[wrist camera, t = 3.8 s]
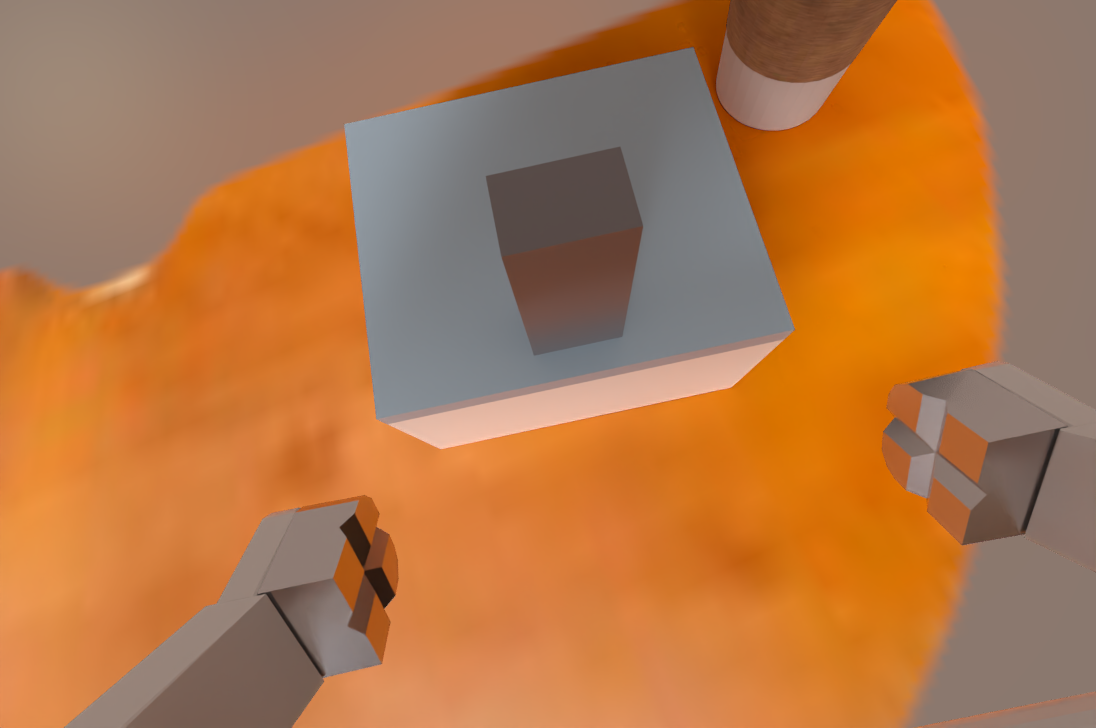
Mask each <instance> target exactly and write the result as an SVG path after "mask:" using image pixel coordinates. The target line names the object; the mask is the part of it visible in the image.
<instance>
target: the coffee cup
mask: <svg viewBox="0 0 1096 728" xmlns="http://www.w3.org/2000/svg"><path fill="white" fill-rule="evenodd" d="M896 1H897V0H731V1H730V7H729V12H728V18H727V24H726V34H725V39H724V44H723V48H722V53H721V58H720V63H719V68H718V73H717V79H716V91H717V95H718V98H719V101H720V102H721V104H722V106H723V108H724V109H725V110H726V111H727V112H728V113H729V114H730V115H731V116H732V117H733V118H735V119H736V120H737V121H739V122H741V123H743V124H745V125H747V126H750V127H753V128H756V129H761V130H768V131H777V130H785V129H790V128H793V127H795V126H798V125H800V124H802V123H804V122H806V121H807V120H809V119H810V118H811V117H812V116H813V115H815V114H816V113H817V111H818V110H819V109H820V107H821V106H822V104H823V103H824V102H825V100H826V99H827V97H828V96H829V95H830V93H831V92H832V90H833V89H834V87H835V86H836V84H837V83H838V81H839V80H840V78H841V77H842V75H843V74H844V73H845V71H846V70H847V68H848V67H849V65H850V64H851V63H852V62H853V60H854V59H855V58H856V56H857V55H858V54H859V52H860V51H861V50H862V48H863V47H864V45H865V44H866V43H867V41H868V40H869V38H870V37H871V36H872V34H873V33H874V32H875V30H876V29H877V27H878V26H879V25H880V23H881V22H882V20H883V19H884V18H885V16H886V15H887V14H888V12H889V11H890V9H891V8H892V7H893V5H894V4H895V2H896Z"/></svg>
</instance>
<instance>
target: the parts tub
mask: <svg viewBox="0 0 1096 728" xmlns="http://www.w3.org/2000/svg"><path fill="white" fill-rule="evenodd" d="M782 341H783V340H779V341H774V342H770V343H765V344H760V345H756V346H751V347H746V348H742V349H737V350H732V351H728V352H723V353H718V354H714V355H709V356H704V357H700V358H695V359H690V360H686V361H681V362H676V363H672V364H667V365H662V366H658V367H653V368H648V369H644V370H639V371H634V372H630V373H625V374H620V375H616V376H611V377H606V378H602V379H597V380H592V381H588V382H583V383H578V384H574V385H569V386H564V387H559V388H555V389H550V390H545V391H541V392H536V393H531V394H527V395H522V396H517V397H513V398H508V399H503V400H499V401H494V402H489V403H485V404H480V405H475V406H471V407H466V408H461V409H457V410H452V411H447V412H443V413H438V414H433V415H429V416H424V417H419V418H415V419H410V420H405V421H401V422H396V423H391V424H388V425H390V426H392V427H394V428H396V429H399V430H401V431H403V432H405V433H407V434H409V435H411V436H414V437H416V438H418V439H420V440H422V441H424V442H426V443H429V444H431V445H433V446H435V447H437V448H439V449H444V448H449V447H454V446H458V445H463V444H468V443H473V442H477V441H482V440H487V439H491V438H496V437H501V436H505V435H510V434H515V433H519V432H524V431H529V430H534V429H538V428H543V427H548V426H552V425H557V424H562V423H566V422H571V421H576V420H580V419H585V418H590V417H595V416H599V415H604V414H609V413H613V412H618V411H623V410H627V409H632V408H637V407H641V406H646V405H651V404H656V403H660V402H665V401H670V400H674V399H679V398H684V397H688V396H693V395H698V394H702V393H707V392H712V391H717V390H721V389H726V388H731V387H732V386H733V385H734V384H736V383H737V382H738V381H739V380H740V379H741V378H742V377H743V376H744V375H745V374H747V373H748V372H749V371H750V370H751V369H752V368H753V367H754V366H755V365H756V364H758V363H759V362H760V361H761V360H762V359H763V358H764V357H765V356H766V355H767V354H769V353H770V352H771V351H772V350H773V349H774V348H775V347H776V346H777V345H779V344H780V343H781V342H782Z"/></svg>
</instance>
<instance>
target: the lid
mask: <svg viewBox="0 0 1096 728" xmlns="http://www.w3.org/2000/svg"><path fill="white" fill-rule="evenodd" d="M345 135H346V144H347V153H348V162H349V171H350V181H351V190H352V199H353V208H354V217H355V226H356V236H357V245H358V254H359V263H360V272H361V282H362V291H363V300H364V309H365V318H366V328H367V337H368V346H369V355H370V364H371V374H372V383H373V392H374V401H375V410H376V419H377V420H379V421H381V422H384V423H386V424H391V423H396V422H401V421H405V420H410V419H415V418H419V417H424V416H429V415H433V414H438V413H443V412H447V411H452V410H457V409H461V408H466V407H471V406H475V405H480V404H485V403H489V402H494V401H499V400H503V399H508V398H513V397H517V396H522V395H527V394H531V393H536V392H541V391H545V390H550V389H555V388H559V387H564V386H569V385H574V384H578V383H583V382H588V381H592V380H597V379H602V378H606V377H611V376H616V375H620V374H625V373H630V372H634V371H639V370H644V369H648V368H653V367H658V366H662V365H667V364H672V363H676V362H681V361H686V360H690V359H695V358H700V357H704V356H709V355H714V354H718V353H723V352H728V351H732V350H737V349H742V348H746V347H751V346H756V345H760V344H765V343H770V342H774V341H779V340H784V339H785V338H786V337H787V336H788V335H790V334H791V333H792V332H793V331H794V330H795V328H794V326H793V323H792V320H791V317H790V314H789V312H788V309H787V306H786V303H785V301H784V298H783V295H782V292H781V289H780V287H779V284H778V281H777V278H776V276H775V273H774V270H773V267H772V264H771V262H770V259H769V256H768V253H767V251H766V248H765V245H764V242H763V239H762V237H761V234H760V231H759V228H758V225H757V223H756V220H755V217H754V214H753V212H752V209H751V206H750V203H749V200H748V198H747V195H746V192H745V189H744V187H743V184H742V181H741V178H740V175H739V173H738V170H737V167H736V164H735V162H734V159H733V156H732V153H731V150H730V148H729V145H728V142H727V139H726V137H725V134H724V131H723V128H722V125H721V123H720V120H719V117H718V114H717V111H716V109H715V106H714V103H713V100H712V98H711V95H710V92H709V89H708V86H707V84H706V81H705V78H704V75H703V73H702V70H701V67H700V64H699V61H698V59H697V56H696V53H695V50H694V48H693V47H691V48H687V49H682V50H678V51H673V52H669V53H664V54H660V55H655V56H651V57H646V58H642V59H637V60H633V61H628V62H623V63H619V64H614V65H610V66H605V67H601V68H596V69H592V70H587V71H583V72H578V73H574V74H569V75H565V76H560V77H556V78H551V79H547V80H542V81H538V82H533V83H529V84H524V85H520V86H515V87H511V88H506V89H502V90H497V91H493V92H488V93H483V94H479V95H474V96H470V97H465V98H461V99H456V100H452V101H447V102H443V103H438V104H434V105H429V106H425V107H420V108H416V109H411V110H407V111H402V112H398V113H393V114H389V115H384V116H380V117H375V118H371V119H366V120H362V121H357V122H353V123H348V124H345Z"/></svg>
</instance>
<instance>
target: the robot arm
mask: <svg viewBox="0 0 1096 728" xmlns="http://www.w3.org/2000/svg"><path fill="white" fill-rule="evenodd" d="M887 409H888V410H889V411H890V412H891V414H892V415H893V416H894V417H895V418H894V419H893V420H892V422H891V423H890V424H889V425H888V426H887V428H886V429H885V430H884V431H883V441H882V451H883V455H884V458H885V462H886V465H887V467H888V469H889V470H890V472H891V474H892V475H893V477H894V478H895V479H896V480H897V481H898V482H899V483H900V485H901V486H902V487H903V488H904V489H905V490H907V491H909V492H912V493H914V494H917V495H919V496H922V497H924V498H927V512H928V513H929V514H930V515H931V516H933V517H934V518H935V519H936V520H937V521H938V522H939V523H940V524H941V525H942V526H943V527H944V528H945V529H946V530H947V531H948V532H949V533H950V534H951V535H952V536H953V537H954V538H955V539H956V540H957V541H958V542H959V543H960V544H961V545H967V544H973V543H978V542H984V541H990V540H995V539H1001V538H1007V537H1012V536H1018V535H1024V534H1025V536H1024V538H1026V539H1028V540H1030V541H1032V542H1034V543H1036V544H1039V545H1040V546H1042V547H1045V548H1047V549H1049V550H1051V551H1053V552H1055V553H1057V554H1059V555H1061V556H1063V557H1065V558H1067V559H1069V560H1071V561H1073V562H1075V563H1077V564H1080V565H1081V566H1083V567H1086V568H1088V569H1090V570H1092V571H1094V572H1096V410H1095V409H1093V408H1091V407H1089V406H1088V405H1086V404H1084V403H1082V402H1080V401H1078V400H1077V399H1075V398H1073V397H1071V396H1069V395H1067V394H1065V393H1063V392H1062V391H1060V390H1058V389H1056V388H1054V387H1052V386H1051V385H1049V384H1047V383H1045V382H1043V381H1041V380H1040V379H1038V378H1036V377H1034V376H1032V375H1030V374H1028V373H1027V372H1025V371H1023V370H1021V369H1019V368H1017V367H1015V366H1014V365H1012V364H1009V363H1004V362H998V361H995V362H991V363H987V364H982V365H978V366H974V367H970V368H965V369H962V370H961V371H957V372H952V373H947V374H943V375H938V376H933V377H929V378H924V379H919V380H915V381H910V382H905V383H901V384H896V385H894V387H893V388H892V390H891V391H890V393H889V396H888V402H887ZM378 518H379V512H378V510H377V508H376V506H375V504H374V502H373V500H372V498H370V497H367V496H365V495H363V496H358V497H352V498H347V499H342V500H336V501H331V502H325V503H320V504H315V505H309V506H304V507H302V508H295V509H290V510H285V511H280V512H275V513H271V514H269V515H268V516H266V517H265V518H263V519H262V521H261V523H260V525H259V526H258V528H257V530H256V532H255V534H254V536H253V538H252V539H251V541H250V543H249V545H248V547H247V549H246V551H245V552H244V554H243V556H242V558H241V560H240V562H239V563H238V565H237V567H236V569H235V571H234V573H233V575H232V576H231V578H230V580H229V582H228V584H227V586H226V587H225V589H224V591H223V593H222V595H221V597H220V599H219V600H218V602H217V604H214V605H209V606H205V607H204V608H203V609H202V610H201V611H200V612H198V613H197V614H196V615H195V616H194V617H193V618H191V619H190V620H189V621H188V622H187V623H186V624H184V625H183V626H182V627H181V628H180V629H179V630H177V631H176V632H175V633H174V634H173V635H172V636H170V637H169V638H168V639H167V640H166V641H165V642H163V643H162V644H161V645H160V646H159V647H158V648H156V649H155V650H154V651H153V652H152V653H151V654H149V655H148V656H147V657H146V658H145V659H144V660H142V661H141V662H140V663H139V664H138V665H136V666H135V667H134V668H133V669H132V670H131V671H129V672H128V673H127V674H126V675H125V676H124V677H122V678H121V679H120V680H119V681H118V682H117V683H115V684H114V685H113V686H112V687H111V688H110V689H108V690H107V691H106V692H105V693H104V694H103V695H101V696H100V697H99V698H98V699H97V700H96V701H94V702H93V703H92V704H91V705H90V706H89V707H87V708H86V709H85V710H84V711H83V712H82V713H80V714H79V715H78V716H77V717H76V718H75V719H73V720H72V721H71V722H70V723H69V724H68V725H66V726H65V727H64V728H292V726H293V725H294V723H295V722H296V720H297V719H298V718H299V716H300V715H301V713H302V712H303V711H304V709H305V708H306V706H307V705H308V703H309V702H310V701H311V699H312V698H313V696H314V695H315V694H316V692H317V691H318V689H319V688H320V687H321V685H322V684H323V682H324V679H323V678H325V677H329V676H333V675H337V674H342V673H346V672H350V671H354V670H359V669H363V668H367V667H371V666H376V665H380V664H382V661H383V656H384V651H385V646H386V641H387V636H388V631H389V626H390V620H389V618H388V616H387V614H386V612H385V610H384V609H385V607H386V606H387V605H388V604H389V603H390V601H391V600H392V599H393V598H394V597H395V595H396V590H397V584H398V559H397V555H396V551H395V547H394V544H393V542H392V540H391V537H390V535H389V534H388V533H386V532H384V531H383V530H381V529H379V528H377V527H376V525H377V521H378ZM915 728H1096V692H1091V693H1086V694H1080V695H1076V696H1070V697H1066V698H1060V699H1055V700H1050V701H1045V702H1041V703H1035V704H1030V705H1025V706H1020V707H1015V708H1010V709H1005V710H1000V711H995V712H990V713H985V714H980V715H976V716H971V717H965V718H960V719H955V720H950V721H945V722H941V723H936V724H930V725H925V726H920V727H915Z"/></svg>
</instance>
